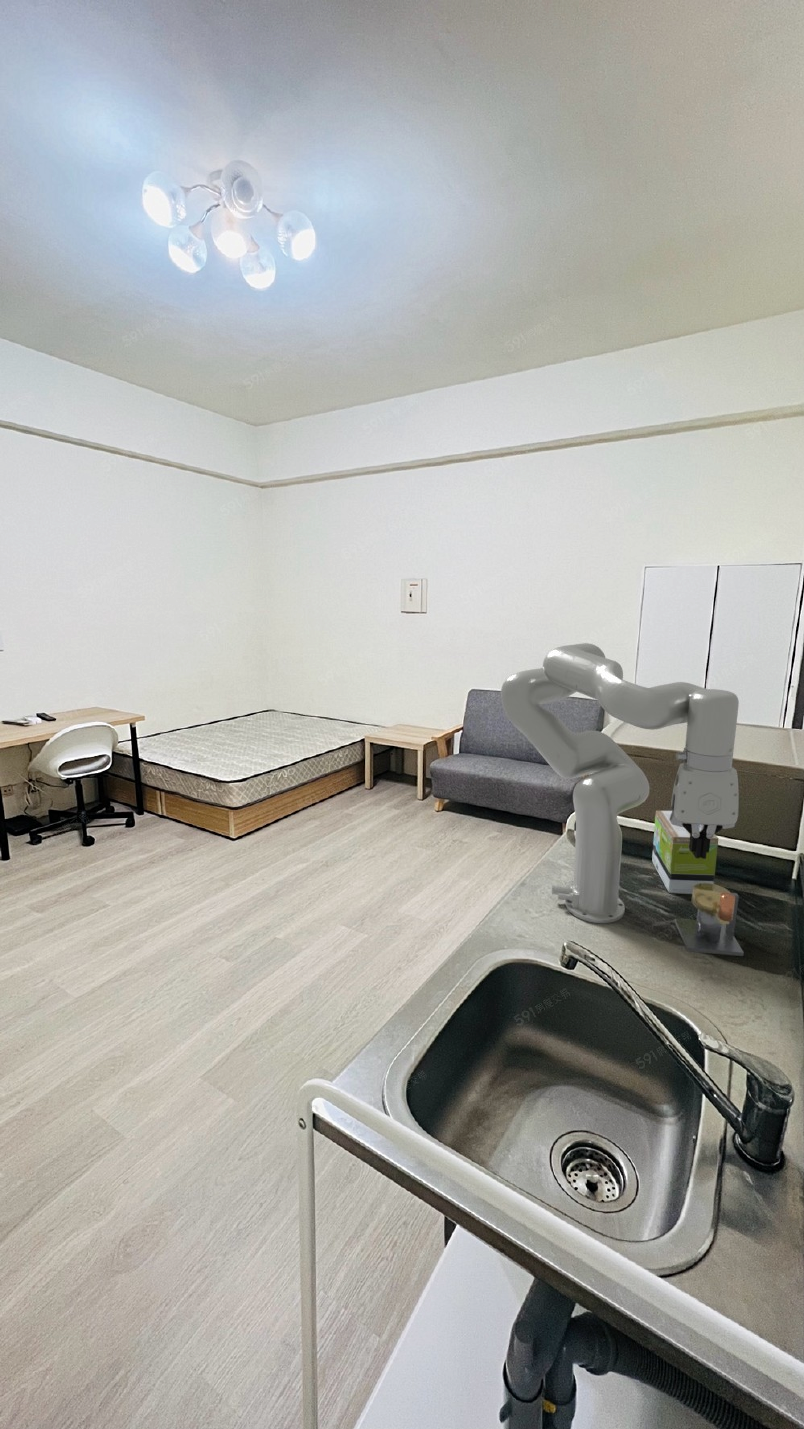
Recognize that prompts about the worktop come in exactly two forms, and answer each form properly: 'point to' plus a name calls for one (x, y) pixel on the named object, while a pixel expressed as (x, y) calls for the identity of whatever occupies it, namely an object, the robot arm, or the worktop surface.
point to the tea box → (680, 856)
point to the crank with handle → (714, 901)
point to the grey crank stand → (710, 933)
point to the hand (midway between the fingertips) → (698, 854)
